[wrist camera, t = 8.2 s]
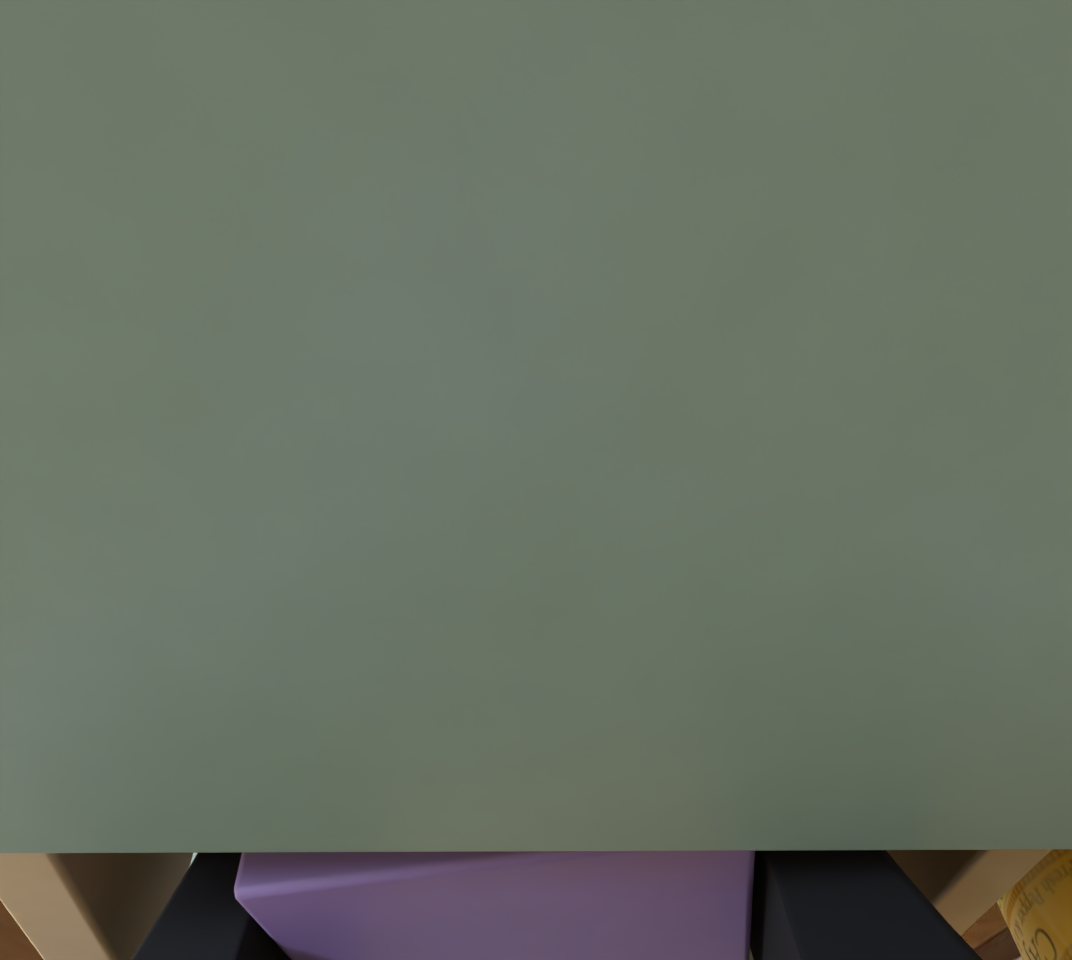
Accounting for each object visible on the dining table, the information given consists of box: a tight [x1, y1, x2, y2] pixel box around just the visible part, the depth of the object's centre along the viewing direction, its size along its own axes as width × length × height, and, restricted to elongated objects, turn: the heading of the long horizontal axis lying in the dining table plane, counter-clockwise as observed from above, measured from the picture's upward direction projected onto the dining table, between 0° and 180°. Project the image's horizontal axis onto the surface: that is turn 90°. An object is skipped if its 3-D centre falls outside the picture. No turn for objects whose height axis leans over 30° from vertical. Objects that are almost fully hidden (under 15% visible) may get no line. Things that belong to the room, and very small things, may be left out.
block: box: [234, 851, 755, 960], centre depth 11 cm, size 5×5×5 cm
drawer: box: [0, 849, 1052, 960], centre depth 13 cm, size 18×12×6 cm, turn 174°
